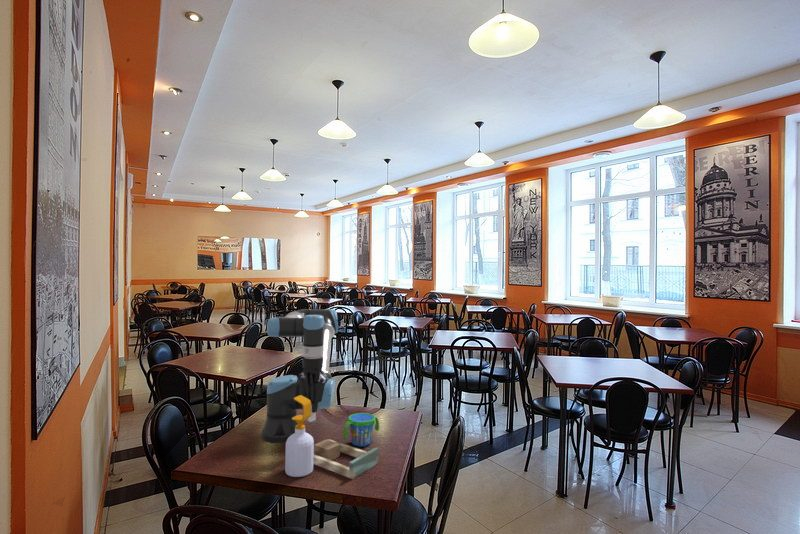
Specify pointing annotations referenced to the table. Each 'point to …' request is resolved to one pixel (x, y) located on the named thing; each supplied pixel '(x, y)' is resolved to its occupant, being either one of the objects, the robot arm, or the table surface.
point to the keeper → (327, 449)
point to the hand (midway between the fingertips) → (311, 420)
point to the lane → (355, 467)
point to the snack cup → (361, 428)
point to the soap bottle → (300, 444)
